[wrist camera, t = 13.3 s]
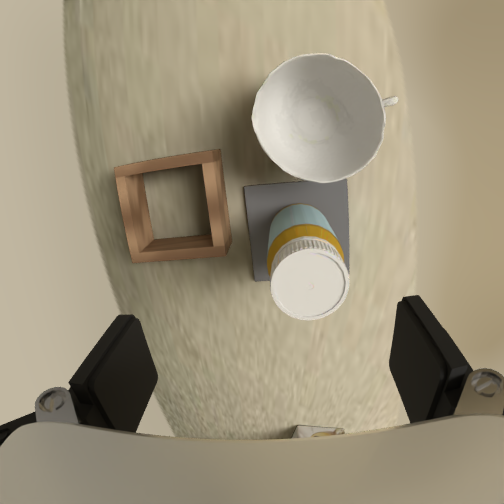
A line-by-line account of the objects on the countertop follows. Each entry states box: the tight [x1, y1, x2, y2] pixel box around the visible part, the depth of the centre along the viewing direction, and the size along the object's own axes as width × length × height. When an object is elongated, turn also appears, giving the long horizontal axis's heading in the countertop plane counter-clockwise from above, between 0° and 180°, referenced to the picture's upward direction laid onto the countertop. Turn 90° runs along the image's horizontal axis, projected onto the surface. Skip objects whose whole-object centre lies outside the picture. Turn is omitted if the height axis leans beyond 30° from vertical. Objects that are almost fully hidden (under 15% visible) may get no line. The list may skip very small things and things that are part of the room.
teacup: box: [251, 53, 398, 183], centre depth 30 cm, size 15×12×8 cm
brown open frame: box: [114, 149, 232, 263], centre depth 36 cm, size 11×11×5 cm
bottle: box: [267, 203, 349, 320], centre depth 31 cm, size 7×7×15 cm
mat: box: [244, 179, 349, 281], centre depth 39 cm, size 12×12×1 cm
